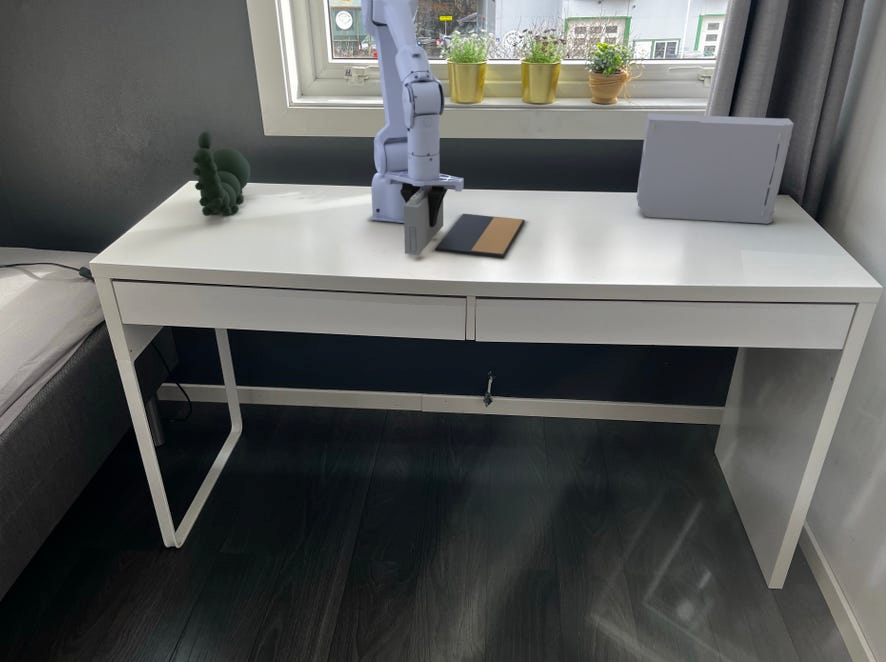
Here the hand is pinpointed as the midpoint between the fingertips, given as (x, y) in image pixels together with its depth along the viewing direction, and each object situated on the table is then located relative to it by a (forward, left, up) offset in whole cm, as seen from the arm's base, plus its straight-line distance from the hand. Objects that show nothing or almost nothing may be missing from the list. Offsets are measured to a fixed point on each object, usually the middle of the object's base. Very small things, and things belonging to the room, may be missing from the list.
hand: (424, 224), depth 143 cm
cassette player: (0, 0, -3) cm, 3 cm away
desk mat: (+10, +7, -4) cm, 12 cm away
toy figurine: (-47, +8, -4) cm, 48 cm away
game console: (+51, +31, -4) cm, 60 cm away
